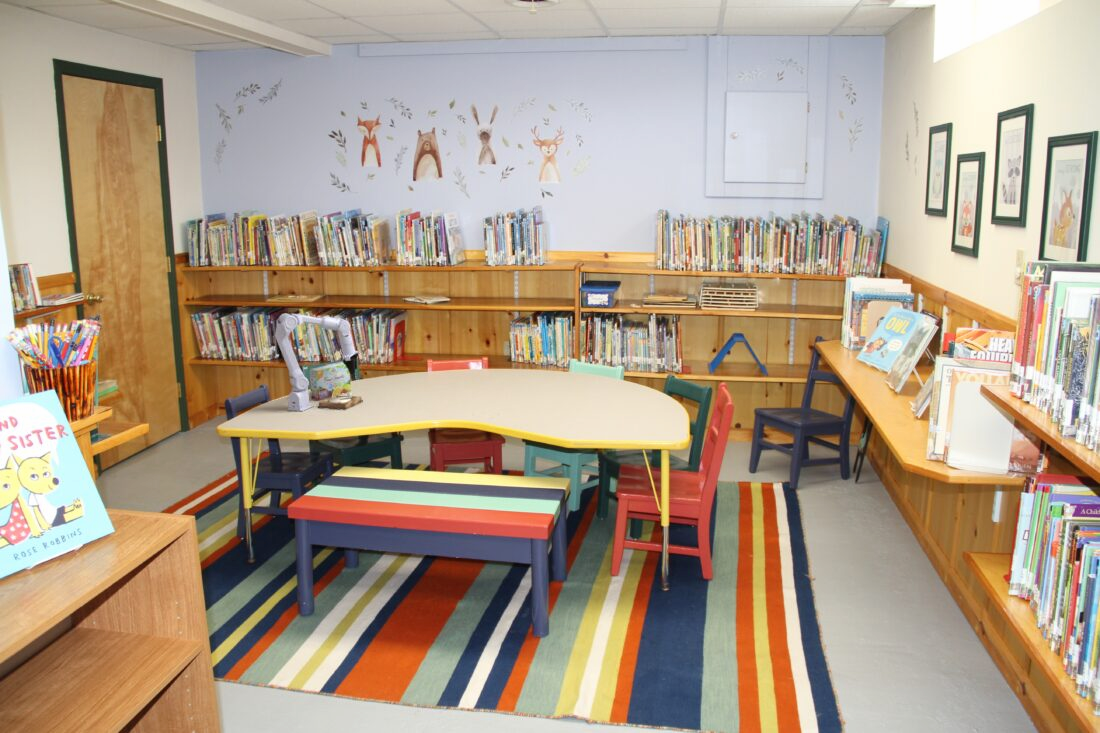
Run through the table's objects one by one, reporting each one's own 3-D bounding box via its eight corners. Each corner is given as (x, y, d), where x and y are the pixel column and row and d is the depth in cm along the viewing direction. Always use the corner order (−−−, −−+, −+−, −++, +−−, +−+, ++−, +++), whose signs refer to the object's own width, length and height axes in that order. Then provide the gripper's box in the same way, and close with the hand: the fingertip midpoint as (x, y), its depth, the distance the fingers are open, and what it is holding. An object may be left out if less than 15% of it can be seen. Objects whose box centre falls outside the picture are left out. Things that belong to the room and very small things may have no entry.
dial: (328, 405, 401) (327, 396, 400) (329, 400, 410) (329, 391, 409) (352, 403, 403) (351, 394, 402) (352, 398, 412) (351, 390, 411)
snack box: (319, 401, 416) (316, 370, 413) (311, 399, 419) (308, 369, 416) (352, 391, 433) (349, 361, 430) (344, 390, 436) (341, 361, 433)
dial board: (345, 409, 397) (345, 403, 397) (317, 408, 402) (317, 402, 402) (363, 401, 411) (362, 396, 411) (335, 400, 416) (335, 394, 415)
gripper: (353, 346, 403) (360, 373, 406) (357, 338, 417) (364, 365, 420) (338, 349, 402) (345, 376, 406) (342, 341, 416) (349, 368, 420)
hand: (353, 371), depth 413 cm, fingers open, 7 cm apart
